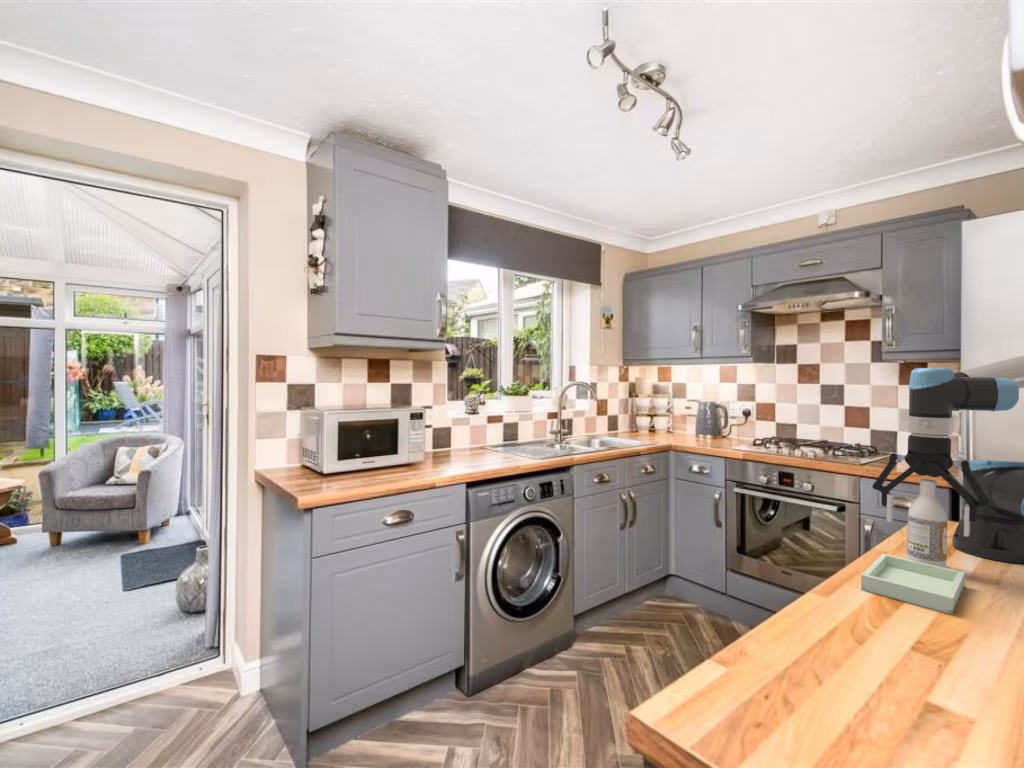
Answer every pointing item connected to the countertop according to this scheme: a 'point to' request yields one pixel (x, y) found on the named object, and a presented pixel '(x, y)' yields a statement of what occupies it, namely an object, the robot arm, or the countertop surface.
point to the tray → (914, 582)
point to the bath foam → (927, 527)
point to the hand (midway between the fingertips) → (926, 527)
